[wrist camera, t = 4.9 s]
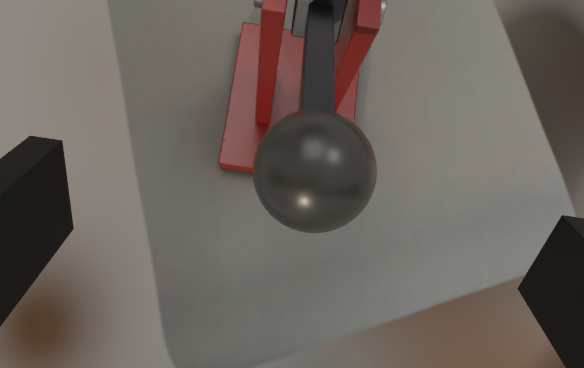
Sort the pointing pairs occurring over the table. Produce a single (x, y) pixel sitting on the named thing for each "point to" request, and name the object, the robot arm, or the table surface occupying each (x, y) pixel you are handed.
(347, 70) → the bracket
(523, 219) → the table surface
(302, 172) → the lever
